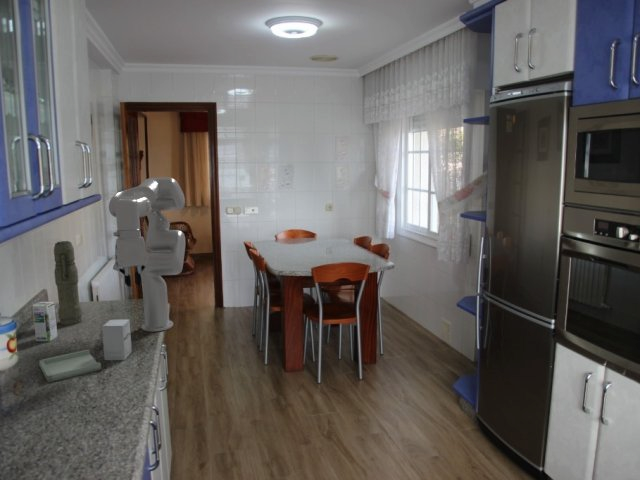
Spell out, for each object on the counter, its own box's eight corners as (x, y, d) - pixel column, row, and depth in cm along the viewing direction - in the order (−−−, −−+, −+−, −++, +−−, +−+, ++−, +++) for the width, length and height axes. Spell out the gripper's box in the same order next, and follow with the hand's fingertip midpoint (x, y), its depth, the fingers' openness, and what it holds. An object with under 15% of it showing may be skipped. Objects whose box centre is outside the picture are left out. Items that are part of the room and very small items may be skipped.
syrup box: (35, 341, 200) (31, 305, 198) (44, 336, 206) (40, 301, 204) (49, 341, 200) (45, 305, 197) (58, 336, 206) (54, 301, 203)
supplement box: (125, 360, 181) (122, 325, 179) (104, 360, 181) (100, 326, 179) (132, 352, 188) (130, 318, 186) (112, 352, 188) (109, 319, 186)
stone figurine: (81, 316, 230) (74, 239, 224) (82, 324, 219) (75, 243, 213) (59, 319, 226) (51, 240, 220) (59, 327, 216) (50, 245, 210)
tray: (39, 366, 177) (38, 360, 176) (89, 354, 186) (88, 349, 186) (48, 382, 164) (47, 376, 164) (101, 369, 174) (100, 363, 173)
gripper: (108, 238, 174) (112, 291, 177) (155, 233, 183) (159, 283, 186) (102, 235, 180) (106, 286, 183) (148, 230, 189) (151, 279, 192)
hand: (133, 284), depth 184 cm, fingers open, 2 cm apart
